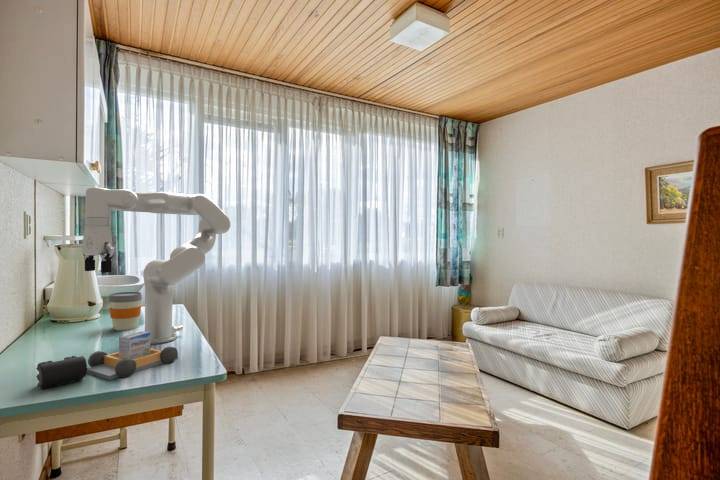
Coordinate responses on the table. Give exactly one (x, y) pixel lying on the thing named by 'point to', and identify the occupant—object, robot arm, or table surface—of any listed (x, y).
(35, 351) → the table surface
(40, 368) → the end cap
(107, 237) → the robot arm
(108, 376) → the chassis
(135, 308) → the reusable coffee cup
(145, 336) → the medicine box
